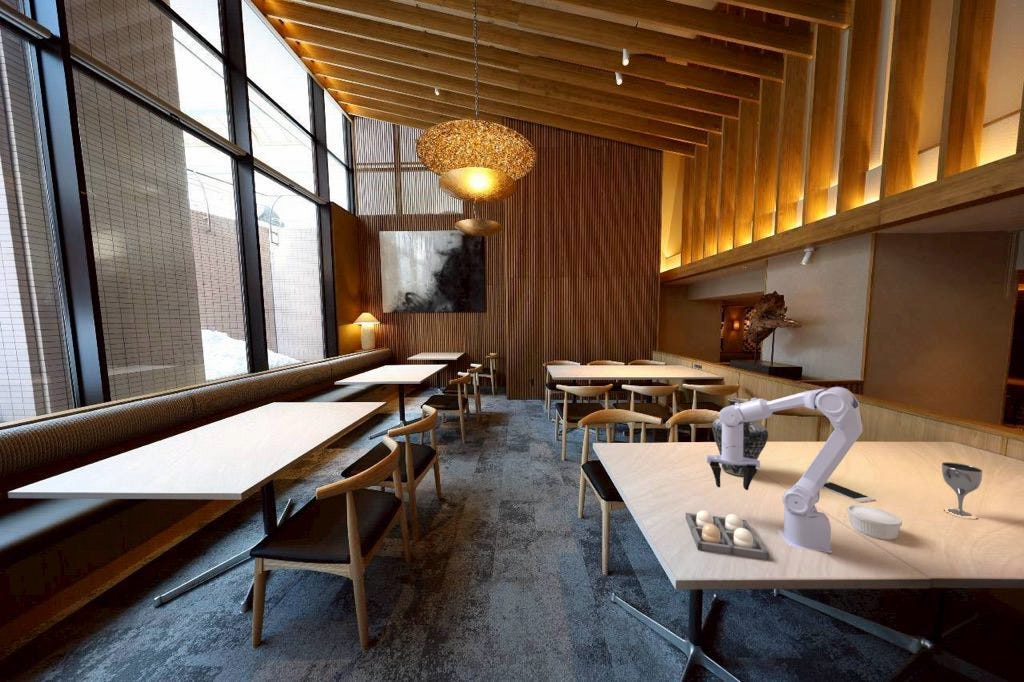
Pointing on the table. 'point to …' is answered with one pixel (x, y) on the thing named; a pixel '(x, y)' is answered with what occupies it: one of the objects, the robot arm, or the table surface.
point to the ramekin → (874, 522)
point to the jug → (752, 439)
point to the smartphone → (847, 492)
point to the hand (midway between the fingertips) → (731, 487)
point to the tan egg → (710, 534)
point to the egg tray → (726, 539)
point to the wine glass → (961, 482)
